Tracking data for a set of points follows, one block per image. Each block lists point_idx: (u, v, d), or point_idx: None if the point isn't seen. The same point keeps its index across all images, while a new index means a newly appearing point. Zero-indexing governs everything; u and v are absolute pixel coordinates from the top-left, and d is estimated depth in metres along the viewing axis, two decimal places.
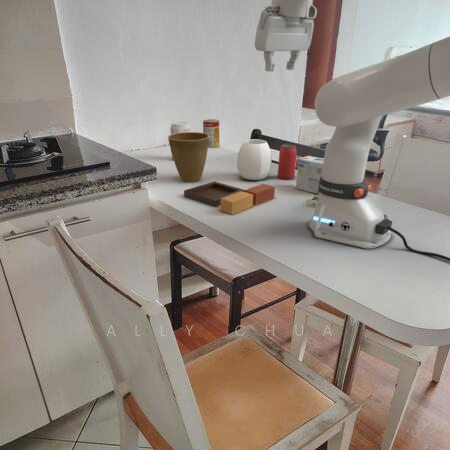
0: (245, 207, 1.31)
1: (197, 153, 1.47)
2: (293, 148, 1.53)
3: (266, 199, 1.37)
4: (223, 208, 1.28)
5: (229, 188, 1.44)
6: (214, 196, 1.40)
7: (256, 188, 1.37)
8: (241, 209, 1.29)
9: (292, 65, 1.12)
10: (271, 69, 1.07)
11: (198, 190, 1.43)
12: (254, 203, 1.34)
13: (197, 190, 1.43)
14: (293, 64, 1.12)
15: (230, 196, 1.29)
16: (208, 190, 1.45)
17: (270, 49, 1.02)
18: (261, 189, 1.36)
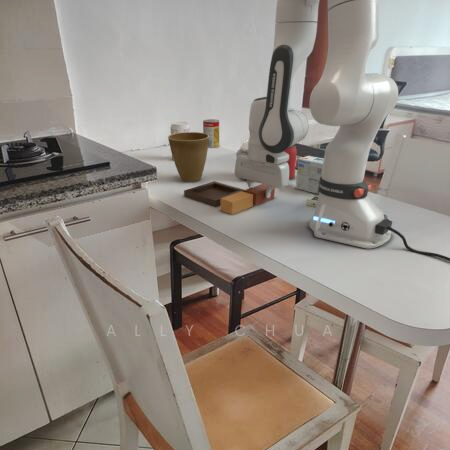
0: (245, 207, 1.31)
1: (197, 153, 1.47)
2: (293, 148, 1.53)
3: (266, 199, 1.37)
4: (223, 208, 1.28)
5: (229, 188, 1.44)
6: (214, 196, 1.40)
7: (256, 188, 1.37)
8: (241, 209, 1.29)
9: (264, 194, 1.35)
10: None
11: (198, 190, 1.43)
12: (254, 203, 1.34)
13: (197, 190, 1.43)
14: (265, 193, 1.35)
15: (230, 196, 1.29)
16: (208, 190, 1.45)
17: (239, 176, 1.38)
18: (261, 189, 1.36)
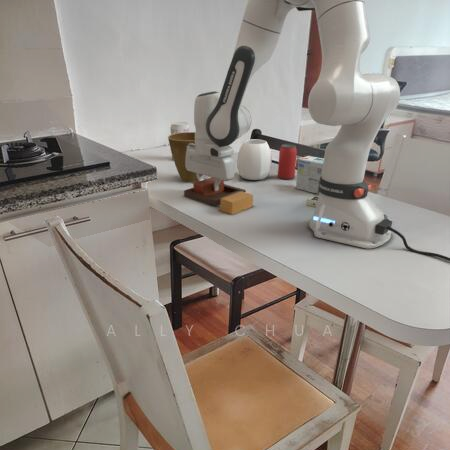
0: (245, 207, 1.31)
1: None
2: (293, 148, 1.53)
3: (215, 192, 1.42)
4: (223, 208, 1.28)
5: (229, 188, 1.44)
6: (214, 196, 1.40)
7: (205, 181, 1.41)
8: (241, 209, 1.29)
9: (213, 187, 1.40)
10: None
11: None
12: None
13: None
14: (213, 186, 1.39)
15: (230, 196, 1.29)
16: None
17: (189, 170, 1.43)
18: (209, 182, 1.40)
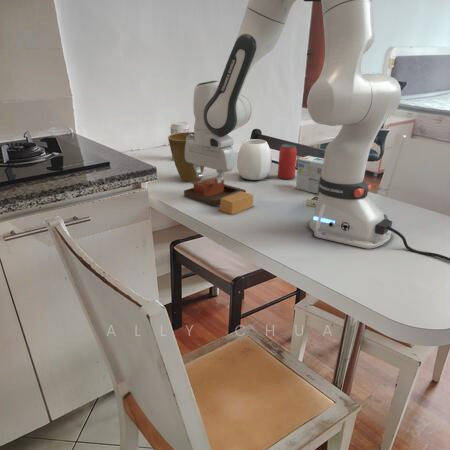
0: (245, 207, 1.31)
1: None
2: (293, 148, 1.53)
3: (215, 192, 1.42)
4: (223, 208, 1.28)
5: (229, 188, 1.44)
6: (214, 196, 1.40)
7: (205, 181, 1.41)
8: (241, 209, 1.29)
9: (215, 179, 1.37)
10: (197, 176, 1.42)
11: None
12: None
13: None
14: (216, 179, 1.37)
15: (230, 196, 1.29)
16: None
17: (189, 161, 1.41)
18: (209, 182, 1.40)
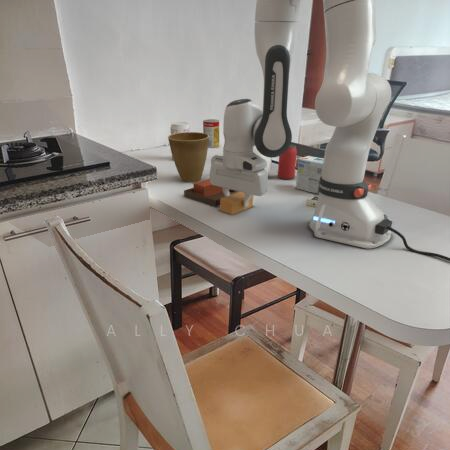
0: (245, 207, 1.31)
1: (197, 153, 1.47)
2: (293, 148, 1.53)
3: (215, 192, 1.42)
4: (223, 208, 1.28)
5: None
6: (214, 196, 1.40)
7: (205, 181, 1.41)
8: (241, 209, 1.29)
9: (242, 202, 1.28)
10: None
11: None
12: None
13: None
14: (243, 202, 1.28)
15: (230, 196, 1.29)
16: None
17: (214, 184, 1.31)
18: (209, 182, 1.40)
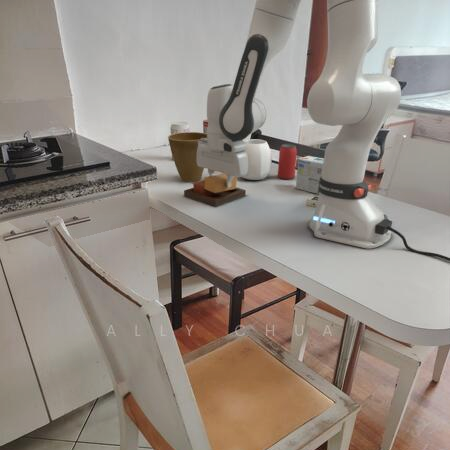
0: (228, 188, 1.38)
1: None
2: (293, 148, 1.53)
3: None
4: (207, 186, 1.35)
5: None
6: (214, 196, 1.40)
7: None
8: (224, 189, 1.36)
9: (225, 183, 1.35)
10: None
11: None
12: None
13: None
14: (226, 183, 1.35)
15: (215, 176, 1.36)
16: None
17: (200, 166, 1.38)
18: None
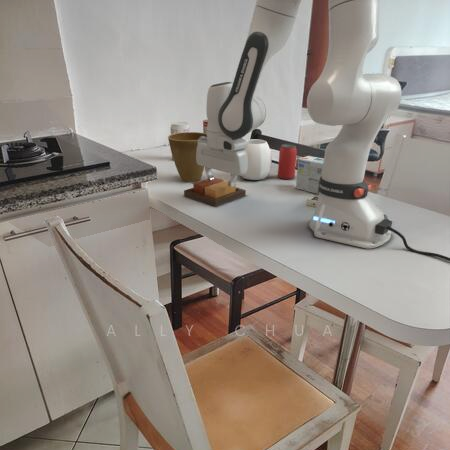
0: None
1: None
2: (293, 148, 1.53)
3: None
4: None
5: None
6: None
7: (205, 181, 1.41)
8: None
9: (228, 183, 1.34)
10: (208, 179, 1.39)
11: None
12: None
13: None
14: (229, 182, 1.33)
15: (214, 185, 1.37)
16: None
17: (200, 164, 1.38)
18: (209, 182, 1.40)
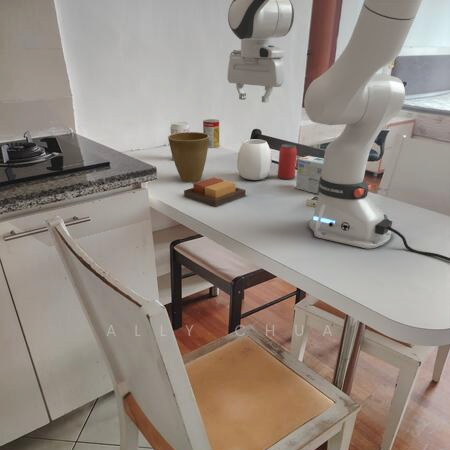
0: None
1: (197, 153, 1.47)
2: (293, 148, 1.53)
3: None
4: None
5: None
6: None
7: (205, 181, 1.41)
8: None
9: (262, 98, 1.28)
10: (240, 97, 1.34)
11: None
12: None
13: None
14: (263, 97, 1.28)
15: (214, 185, 1.37)
16: None
17: (232, 81, 1.32)
18: (209, 182, 1.40)
